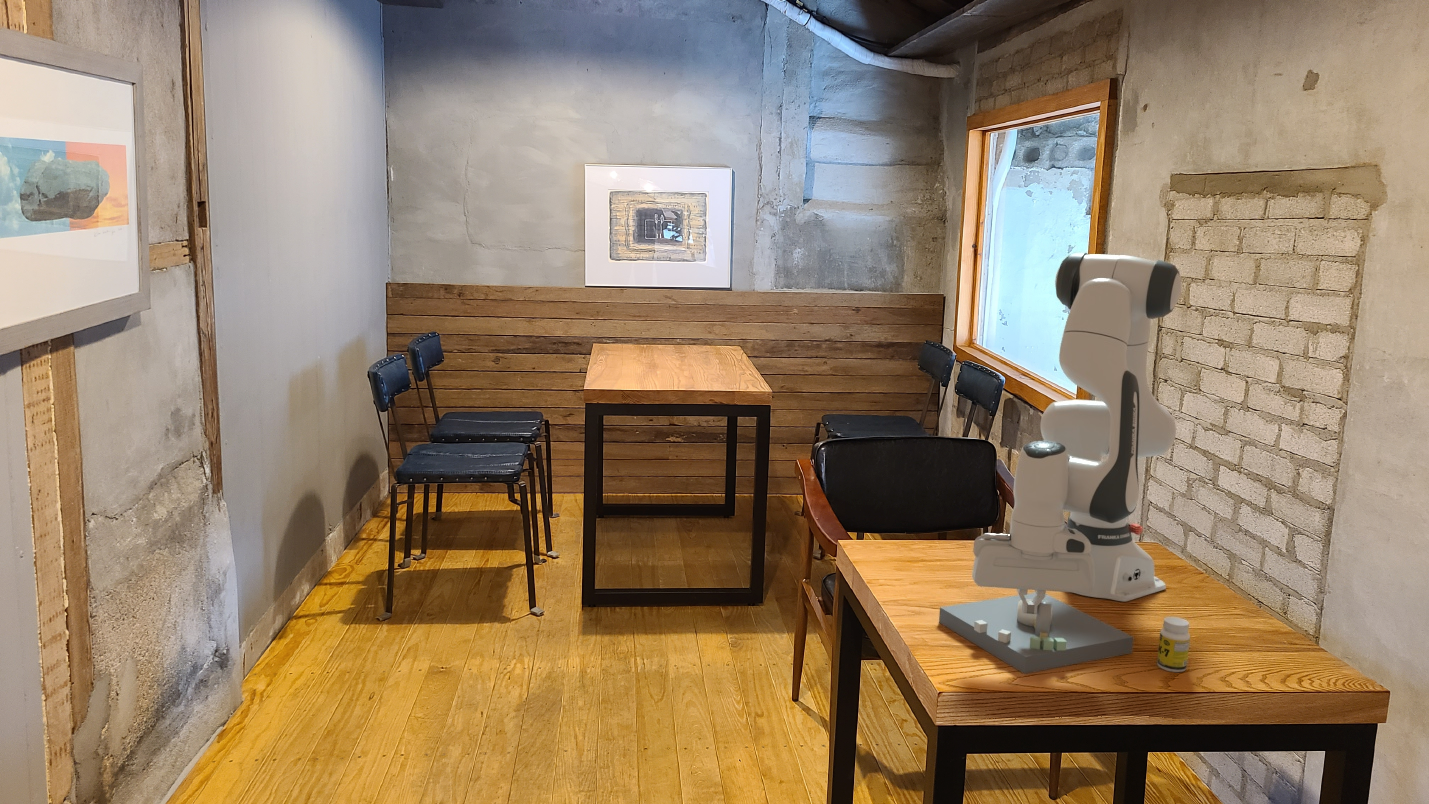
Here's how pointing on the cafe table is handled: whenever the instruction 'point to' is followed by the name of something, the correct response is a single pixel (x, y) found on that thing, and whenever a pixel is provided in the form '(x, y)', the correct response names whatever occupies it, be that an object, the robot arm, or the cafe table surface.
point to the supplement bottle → (1174, 645)
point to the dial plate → (1017, 642)
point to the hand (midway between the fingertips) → (1029, 612)
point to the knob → (1037, 618)
